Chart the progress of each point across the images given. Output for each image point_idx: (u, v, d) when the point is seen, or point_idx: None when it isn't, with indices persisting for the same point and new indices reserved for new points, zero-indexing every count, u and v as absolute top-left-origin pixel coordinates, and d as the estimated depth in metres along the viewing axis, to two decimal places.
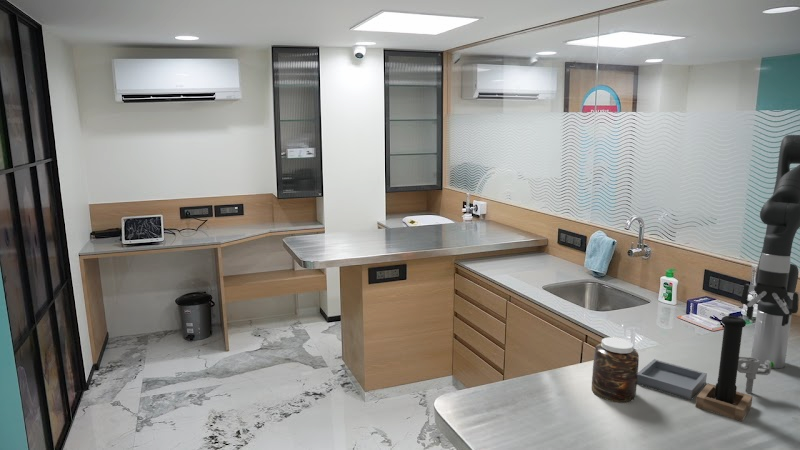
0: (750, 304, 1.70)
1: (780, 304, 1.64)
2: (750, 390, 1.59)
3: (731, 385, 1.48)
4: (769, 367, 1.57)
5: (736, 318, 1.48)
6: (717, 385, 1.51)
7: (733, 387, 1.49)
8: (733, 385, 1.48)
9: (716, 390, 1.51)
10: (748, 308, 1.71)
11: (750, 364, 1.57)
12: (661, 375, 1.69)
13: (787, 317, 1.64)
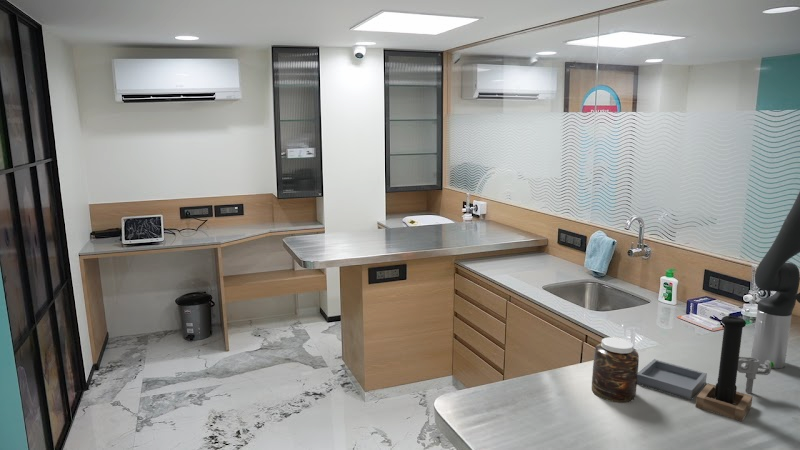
0: None
1: None
2: (750, 390, 1.59)
3: (731, 385, 1.48)
4: (769, 367, 1.57)
5: (736, 318, 1.48)
6: (717, 385, 1.51)
7: (733, 387, 1.49)
8: (733, 385, 1.48)
9: (716, 390, 1.51)
10: None
11: (750, 364, 1.57)
12: (661, 375, 1.69)
13: None
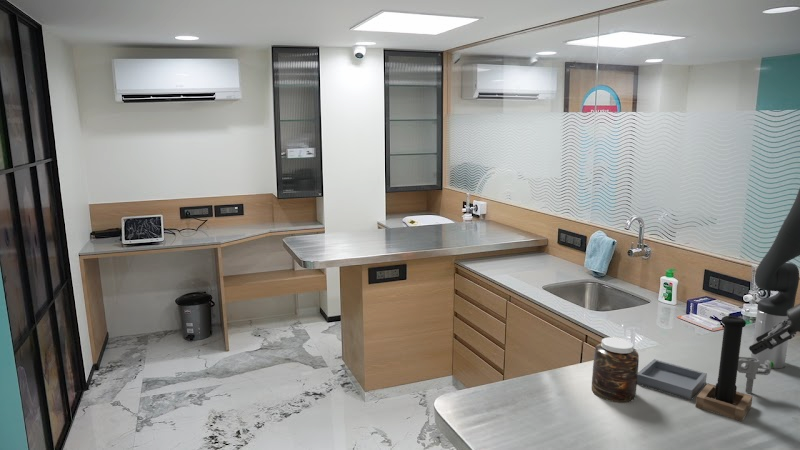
0: None
1: None
2: (750, 390, 1.59)
3: (731, 385, 1.48)
4: (769, 367, 1.57)
5: (736, 318, 1.48)
6: (717, 385, 1.51)
7: (733, 387, 1.49)
8: (733, 385, 1.48)
9: (716, 390, 1.51)
10: (764, 348, 1.39)
11: (750, 364, 1.57)
12: (661, 375, 1.69)
13: None
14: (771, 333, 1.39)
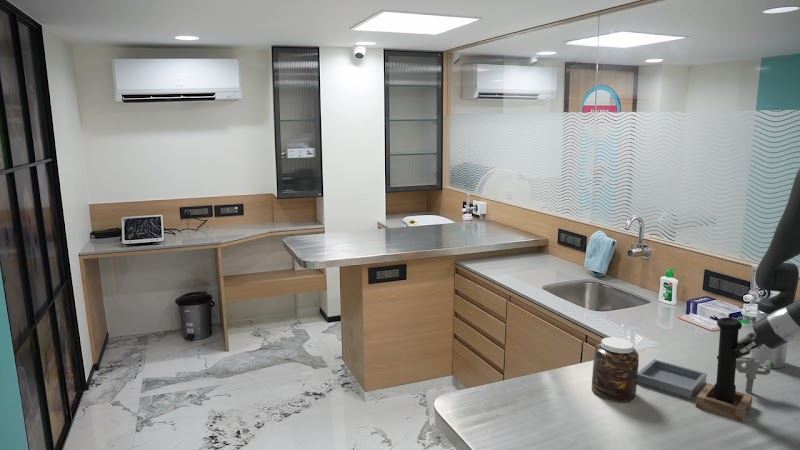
0: None
1: None
2: (750, 390, 1.59)
3: (730, 385, 1.48)
4: (769, 367, 1.57)
5: (732, 320, 1.46)
6: (716, 385, 1.50)
7: (732, 387, 1.48)
8: (732, 385, 1.48)
9: (715, 390, 1.51)
10: None
11: (750, 364, 1.57)
12: (661, 375, 1.69)
13: None
14: None
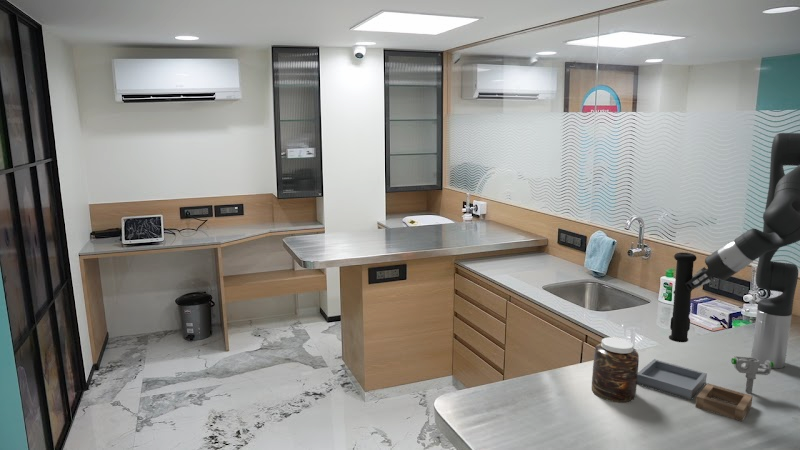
0: None
1: None
2: (750, 390, 1.59)
3: (685, 317, 1.57)
4: (769, 367, 1.57)
5: (687, 254, 1.57)
6: (672, 319, 1.60)
7: (686, 319, 1.57)
8: (686, 317, 1.57)
9: (671, 324, 1.60)
10: None
11: (750, 364, 1.57)
12: (661, 375, 1.69)
13: None
14: None
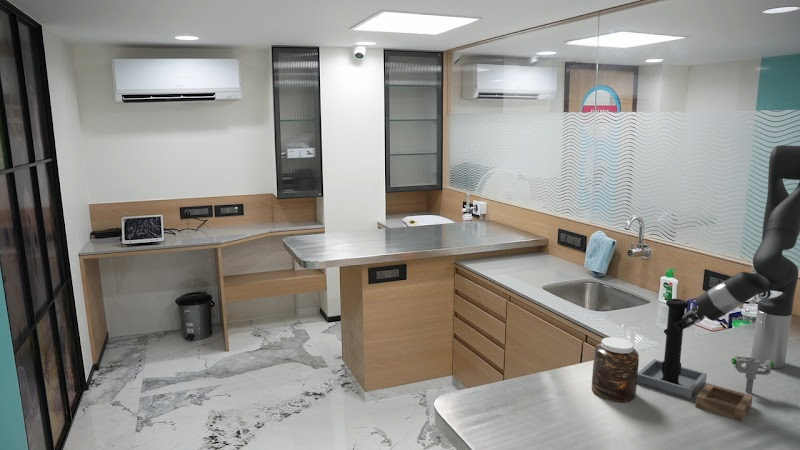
0: None
1: (694, 322, 1.61)
2: (750, 390, 1.59)
3: (676, 362, 1.60)
4: (769, 367, 1.57)
5: (679, 300, 1.60)
6: (663, 363, 1.63)
7: (678, 364, 1.61)
8: (677, 362, 1.61)
9: (663, 367, 1.63)
10: None
11: (750, 364, 1.57)
12: (661, 375, 1.69)
13: None
14: None
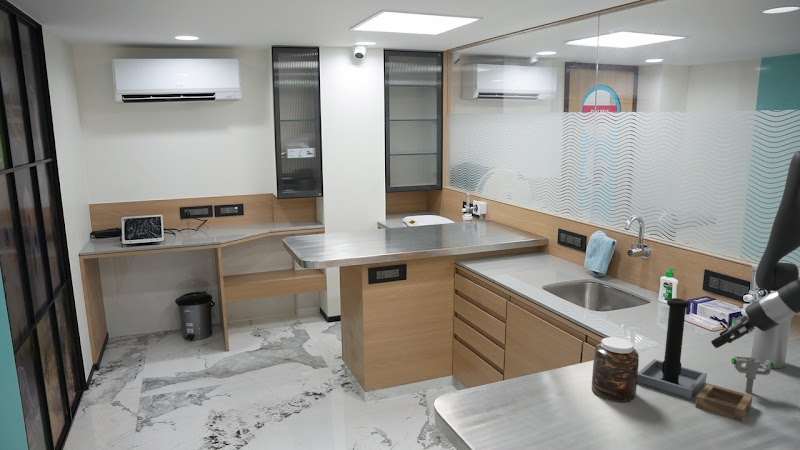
0: None
1: None
2: (750, 390, 1.59)
3: (676, 362, 1.61)
4: (769, 367, 1.57)
5: (680, 300, 1.60)
6: (664, 363, 1.63)
7: (678, 364, 1.61)
8: (678, 362, 1.61)
9: (663, 367, 1.63)
10: (724, 342, 1.50)
11: (750, 364, 1.57)
12: (661, 375, 1.69)
13: None
14: (731, 328, 1.49)
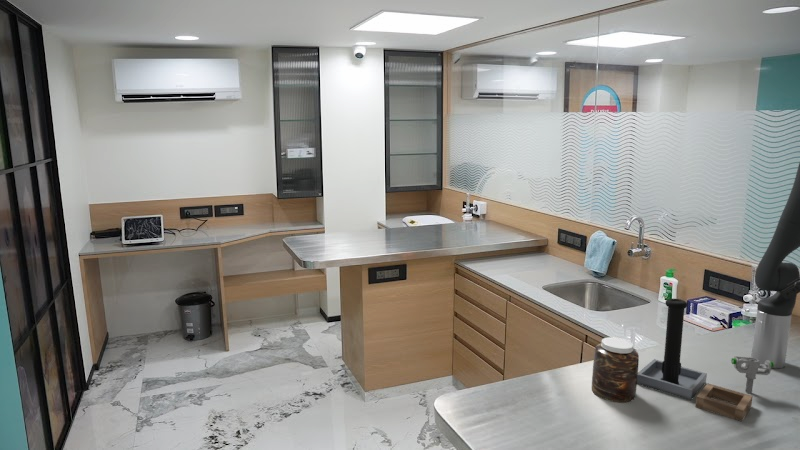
0: None
1: None
2: (750, 390, 1.59)
3: (676, 362, 1.60)
4: (769, 367, 1.57)
5: (678, 300, 1.60)
6: (663, 363, 1.63)
7: (677, 364, 1.61)
8: (677, 362, 1.61)
9: (663, 367, 1.63)
10: (796, 291, 1.39)
11: (750, 364, 1.57)
12: (661, 375, 1.69)
13: None
14: None
